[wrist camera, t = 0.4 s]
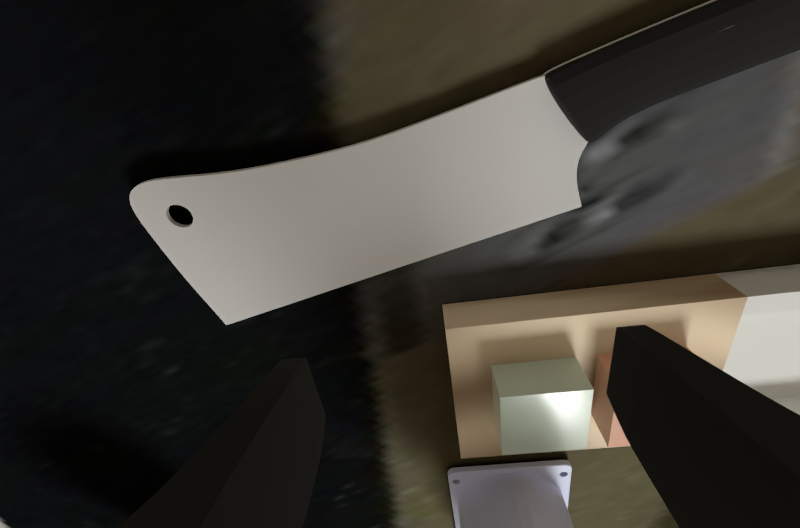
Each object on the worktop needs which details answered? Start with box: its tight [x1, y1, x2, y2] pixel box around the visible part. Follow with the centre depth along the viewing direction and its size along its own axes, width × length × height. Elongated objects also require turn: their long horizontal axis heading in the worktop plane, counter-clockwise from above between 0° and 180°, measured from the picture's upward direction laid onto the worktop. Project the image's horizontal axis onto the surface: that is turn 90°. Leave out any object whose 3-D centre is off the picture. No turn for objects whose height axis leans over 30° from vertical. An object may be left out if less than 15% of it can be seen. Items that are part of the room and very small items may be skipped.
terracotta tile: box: [591, 346, 693, 447], centre depth 18 cm, size 4×4×2 cm
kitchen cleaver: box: [130, 0, 800, 325], centre depth 16 cm, size 31×2×10 cm
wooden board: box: [442, 274, 748, 459], centre depth 20 cm, size 10×13×2 cm
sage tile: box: [491, 357, 594, 455], centre depth 18 cm, size 4×4×2 cm
